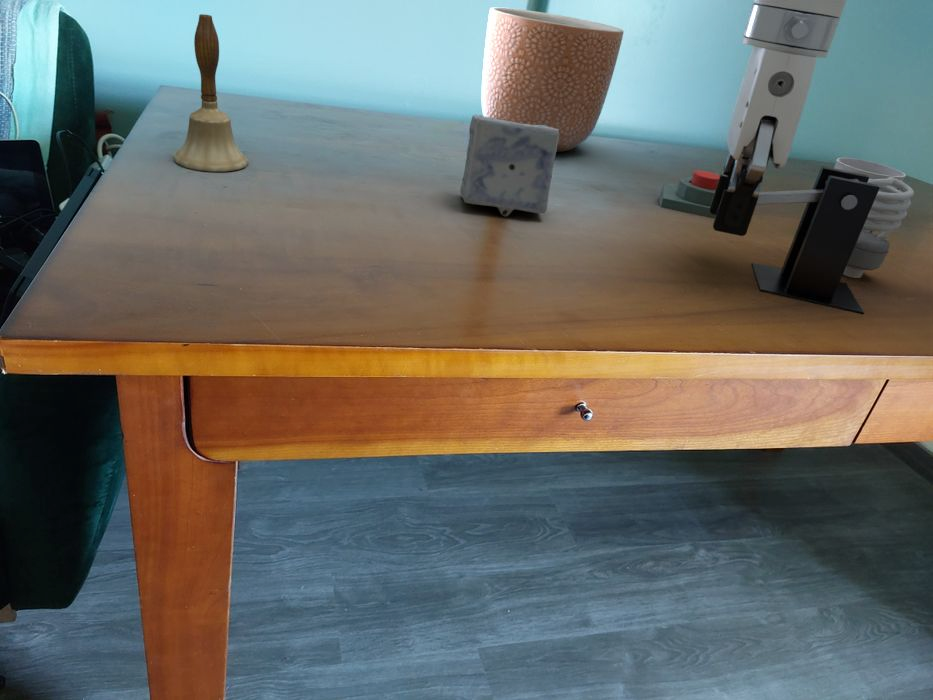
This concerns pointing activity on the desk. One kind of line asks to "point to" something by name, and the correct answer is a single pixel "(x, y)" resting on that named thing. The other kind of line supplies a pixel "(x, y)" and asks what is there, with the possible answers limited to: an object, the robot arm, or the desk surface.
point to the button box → (687, 198)
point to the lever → (790, 196)
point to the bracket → (823, 243)
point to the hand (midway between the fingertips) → (726, 222)
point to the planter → (548, 71)
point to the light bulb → (879, 226)
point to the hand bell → (209, 114)
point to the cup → (869, 173)
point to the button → (705, 180)
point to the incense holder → (509, 165)
